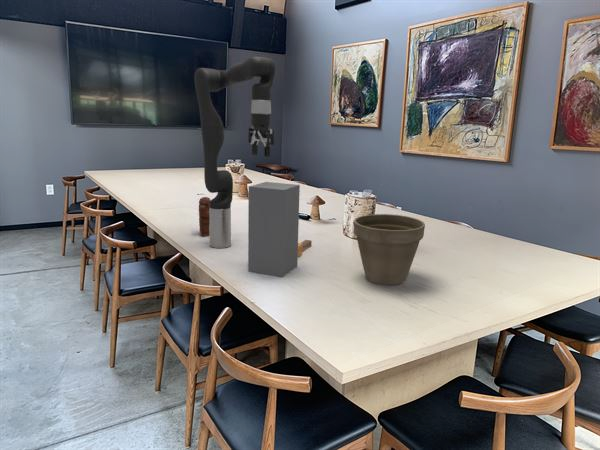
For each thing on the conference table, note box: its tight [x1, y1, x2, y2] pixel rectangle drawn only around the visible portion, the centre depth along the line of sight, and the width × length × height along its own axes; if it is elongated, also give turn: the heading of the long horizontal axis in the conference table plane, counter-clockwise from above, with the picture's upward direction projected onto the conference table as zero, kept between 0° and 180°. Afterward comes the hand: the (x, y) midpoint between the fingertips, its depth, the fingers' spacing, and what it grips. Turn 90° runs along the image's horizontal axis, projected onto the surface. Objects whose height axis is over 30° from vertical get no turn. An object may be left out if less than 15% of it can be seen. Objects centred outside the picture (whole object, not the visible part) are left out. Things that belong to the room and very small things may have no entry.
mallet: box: [298, 239, 313, 259], centre depth 200 cm, size 6×22×5 cm, turn 158°
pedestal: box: [247, 181, 301, 278], centre depth 174 cm, size 14×14×32 cm
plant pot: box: [353, 213, 426, 286], centre depth 168 cm, size 25×25×22 cm
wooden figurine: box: [198, 196, 212, 237], centre depth 223 cm, size 12×6×18 cm, turn 16°
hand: (260, 155), depth 180 cm, fingers open, 8 cm apart
